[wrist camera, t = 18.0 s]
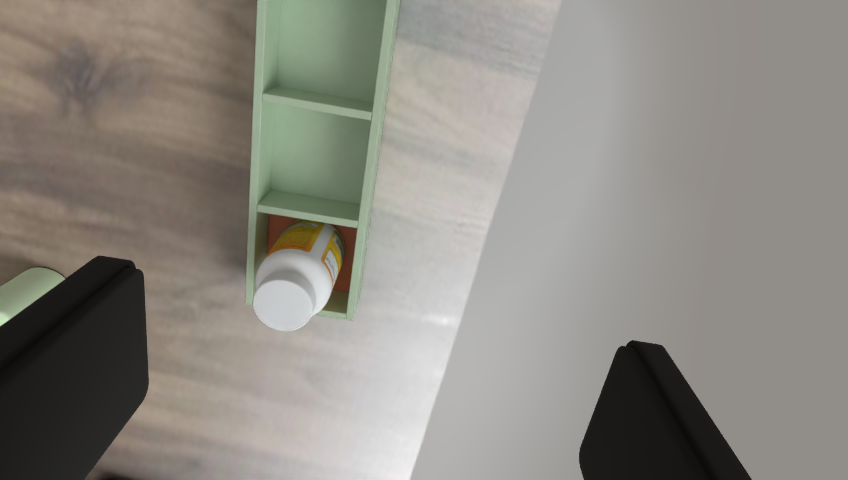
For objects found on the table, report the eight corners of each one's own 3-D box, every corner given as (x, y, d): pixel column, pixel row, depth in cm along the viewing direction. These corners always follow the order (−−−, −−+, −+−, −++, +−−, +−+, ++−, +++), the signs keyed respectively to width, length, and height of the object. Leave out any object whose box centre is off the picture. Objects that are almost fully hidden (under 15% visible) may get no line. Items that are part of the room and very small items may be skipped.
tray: (402, -14, 37) (398, -17, 33) (359, 296, 47) (352, 321, 43) (276, -37, 37) (258, -43, 33) (260, 280, 47) (244, 304, 43)
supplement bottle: (268, 250, 45) (226, 311, 36) (304, 203, 43) (269, 254, 34) (322, 286, 46) (294, 354, 37) (359, 242, 44) (338, 301, 35)
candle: (47, 256, 46) (-30, 305, 39) (88, 301, 48) (23, 355, 40) (6, 282, 47) (-75, 334, 40) (48, 324, 49) (-22, 382, 41)
